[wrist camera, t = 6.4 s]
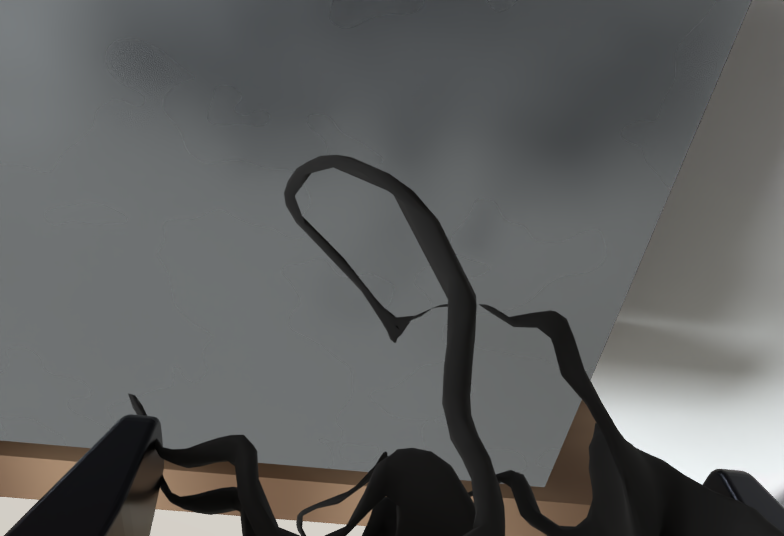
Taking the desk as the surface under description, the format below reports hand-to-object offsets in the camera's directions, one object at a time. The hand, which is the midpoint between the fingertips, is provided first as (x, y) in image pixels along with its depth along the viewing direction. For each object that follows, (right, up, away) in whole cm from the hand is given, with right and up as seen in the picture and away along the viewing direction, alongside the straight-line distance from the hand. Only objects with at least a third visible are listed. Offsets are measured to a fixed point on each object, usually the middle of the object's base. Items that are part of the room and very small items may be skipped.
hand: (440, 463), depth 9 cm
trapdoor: (-3, +3, +4) cm, 5 cm away
